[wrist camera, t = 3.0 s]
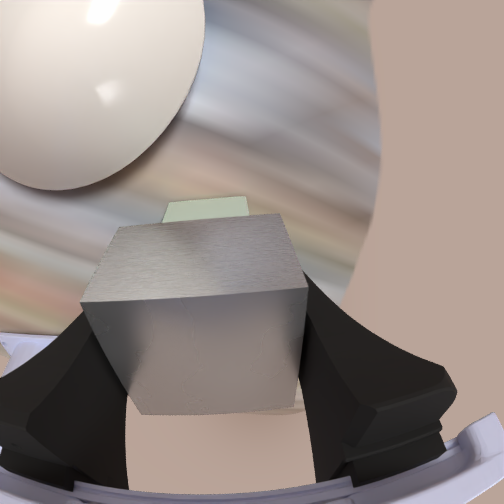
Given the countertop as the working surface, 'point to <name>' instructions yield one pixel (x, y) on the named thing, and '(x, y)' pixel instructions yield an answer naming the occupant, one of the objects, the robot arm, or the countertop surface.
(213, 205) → the block
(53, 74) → the cream round disc
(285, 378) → the grey square block
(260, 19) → the countertop surface
